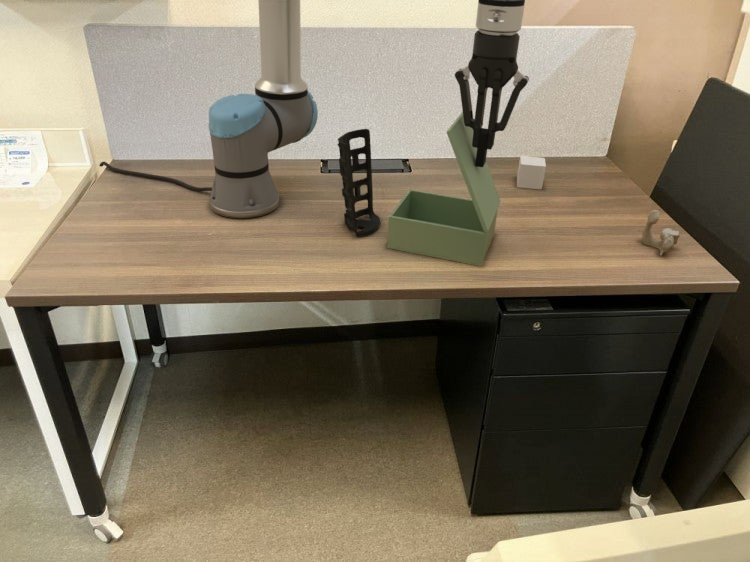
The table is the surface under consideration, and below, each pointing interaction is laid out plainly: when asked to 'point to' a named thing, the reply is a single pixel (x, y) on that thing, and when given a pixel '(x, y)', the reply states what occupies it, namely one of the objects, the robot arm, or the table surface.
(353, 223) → the holder
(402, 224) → the box
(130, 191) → the table surface
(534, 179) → the white cube
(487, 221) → the lid
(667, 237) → the beige irregular piece
